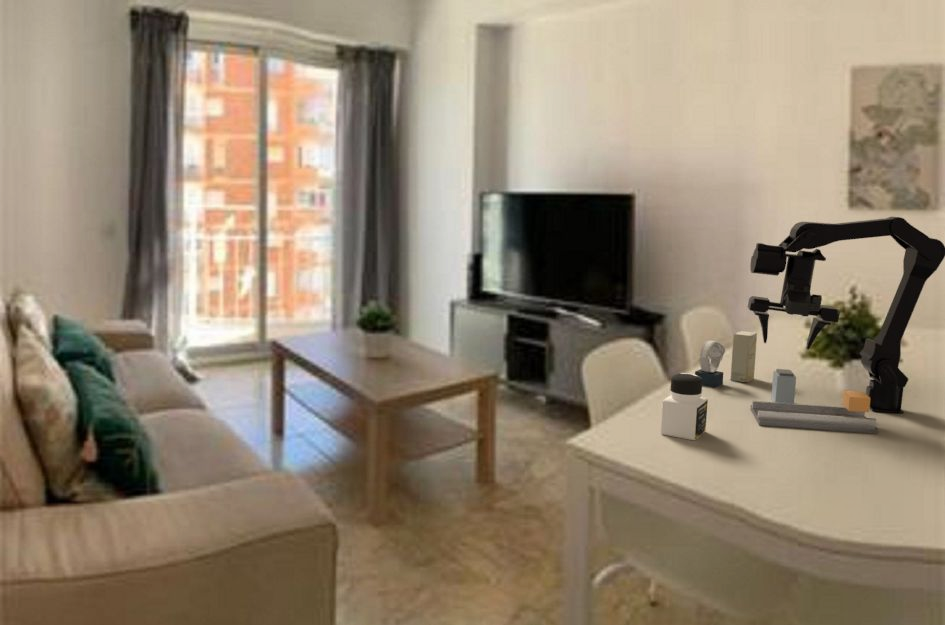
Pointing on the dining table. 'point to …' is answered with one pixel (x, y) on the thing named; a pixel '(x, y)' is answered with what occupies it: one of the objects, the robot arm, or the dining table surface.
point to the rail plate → (812, 417)
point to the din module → (783, 386)
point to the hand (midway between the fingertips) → (786, 346)
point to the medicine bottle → (684, 408)
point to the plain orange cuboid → (856, 401)
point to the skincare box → (743, 356)
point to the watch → (711, 364)
